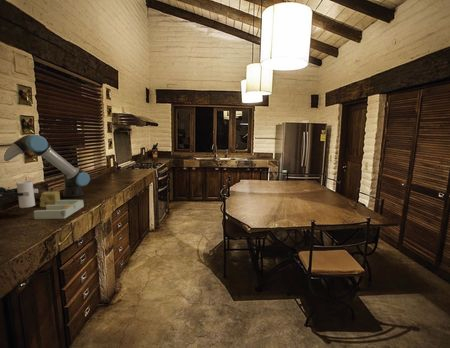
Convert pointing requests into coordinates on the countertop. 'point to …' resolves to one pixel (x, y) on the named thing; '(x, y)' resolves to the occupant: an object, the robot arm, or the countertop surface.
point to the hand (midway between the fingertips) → (33, 192)
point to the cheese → (49, 198)
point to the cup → (26, 200)
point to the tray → (59, 209)
